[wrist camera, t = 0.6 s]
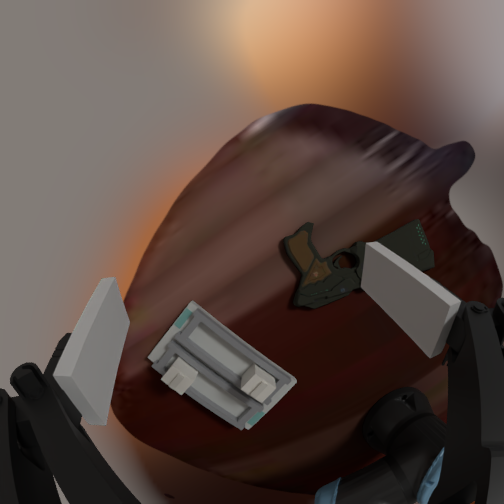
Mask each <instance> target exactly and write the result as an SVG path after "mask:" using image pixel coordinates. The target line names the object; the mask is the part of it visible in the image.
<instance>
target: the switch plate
mask: <svg viewBox="0 0 504 504" xmlns="http://www.w3.org/2000/svg"><path fill="white" fill-rule="evenodd" d="M179 356H180V357H181V358H183V359H184V360H185V361H186V362H188V363H189V364H190V365H192V366H193V367H194V368H195V369H197V370H198V371H199V372H198V374H197V376H196V378H195V380H194V382H193V383H192V384H191V385H190V387H189V388H188V389H187V390H186V391H185V393H186V394H188V395H189V396H190V397H192V398H193V399H195V400H196V401H197V402H199V403H200V404H202V405H203V406H205V407H206V408H207V409H209V410H210V411H212V412H213V413H215V414H216V415H218V416H220V417H221V418H223V419H224V420H226V421H227V422H229V423H231V424H232V425H234V426H235V427H237V428H239V429H240V430H242V429H243V428H244V427H245V428H246V429H248V430H249V429H250V428H251V427H252V426H253V425H254V424H255V423H256V422H257V421H258V420H259V419H261V418H262V417H263V416H264V415H265V414H266V413H267V412H268V411H269V410H270V409H271V408H272V407H273V406H274V405H275V404H276V403H277V402H278V401H279V400H280V399H281V398H282V397H283V396H284V395H285V394H286V393H287V392H288V391H289V390H290V389H291V388H292V387H293V386H294V385H295V383H296V382H297V380H296V378H295V377H293V376H292V375H290V374H289V373H288V372H286V371H285V370H283V369H282V368H280V367H279V366H278V365H276V364H275V363H273V362H272V361H271V360H269V359H268V358H266V357H265V356H264V355H262V354H261V353H260V352H258V351H257V350H255V349H254V348H253V347H251V346H250V345H249V344H247V343H246V342H245V341H243V340H242V339H241V338H239V337H238V336H237V335H236V334H234V333H233V332H232V331H230V330H229V329H228V328H226V327H225V326H224V325H223V324H221V323H220V322H219V321H218V320H216V319H215V318H214V317H213V316H211V315H210V314H209V313H208V312H206V311H205V310H204V309H203V308H201V307H200V306H199V305H198V304H197V303H195V302H194V301H191V302H190V303H189V305H188V306H187V307H186V308H185V310H184V311H183V312H182V314H181V315H180V316H179V317H178V319H177V320H176V321H175V323H174V324H173V325H172V326H171V328H170V329H169V330H168V332H167V333H166V334H165V335H164V337H163V338H162V339H161V341H160V342H159V343H158V344H157V346H156V347H155V348H154V350H153V351H152V352H151V354H150V355H149V356H148V358H149V359H150V360H151V361H152V362H153V365H152V367H153V368H154V369H155V370H157V371H158V372H159V373H160V374H162V375H163V376H164V374H165V373H166V372H167V370H168V369H169V368H170V367H171V365H172V364H173V363H174V362H175V361H176V359H177V358H178V357H179ZM254 362H255V363H256V364H258V365H259V366H261V367H262V368H263V369H265V370H266V371H268V372H269V373H270V374H272V375H273V376H274V378H275V383H276V389H275V390H274V391H273V392H272V393H271V394H270V395H269V396H268V397H267V398H266V399H265V400H264V401H263V402H262V403H261V402H259V401H258V400H256V399H255V398H253V397H252V396H250V395H248V394H247V393H246V392H244V391H243V390H241V380H242V375H243V374H244V373H245V372H246V371H247V370H248V369H249V368H250V367H251V365H252V364H253V363H254Z"/></svg>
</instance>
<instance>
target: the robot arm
mask: <svg viewBox="0 0 504 504" xmlns="http://www.w3.org/2000/svg"><path fill="white" fill-rule="evenodd" d="M361 288H362V289H363V290H364V291H365V292H366V293H367V294H368V295H369V296H370V297H371V298H372V299H373V300H374V301H375V302H376V303H377V304H378V305H379V306H380V307H381V308H382V309H383V310H384V311H385V312H386V313H387V314H388V315H389V316H390V317H391V318H392V319H393V320H394V321H395V322H396V323H397V324H398V325H399V326H400V327H401V328H402V329H403V330H404V331H405V332H406V333H407V334H408V335H409V336H410V337H411V339H412V340H413V341H414V342H415V343H416V344H417V345H418V346H419V347H420V348H421V349H422V350H423V351H424V352H425V354H426V355H427V356H428V357H429V358H432V357H434V356H436V355H438V354H440V353H441V352H442V350H443V348H444V345H445V343H447V344H449V345H450V347H449V349H448V351H447V354H446V356H445V358H444V360H443V362H442V365H443V366H444V364H445V362H446V361H447V360H448V364H447V366H448V413H447V424H445V423H444V422H443V421H442V420H440V419H439V418H438V417H437V416H436V415H434V413H433V410H432V408H431V406H430V403H429V401H428V399H427V397H426V396H425V395H424V394H423V393H422V392H421V391H419V390H418V389H416V388H413V387H404V388H400V389H397V390H394V391H392V392H390V393H389V394H387V395H385V396H384V397H383V398H381V399H380V400H379V401H378V402H377V403H376V404H375V405H374V406H373V407H372V409H371V410H370V411H369V413H368V415H367V416H366V418H365V421H364V424H363V436H364V438H365V440H366V441H367V443H368V444H369V445H370V446H371V447H372V448H373V449H375V450H377V451H379V452H381V453H383V454H384V455H386V456H385V457H383V458H381V459H379V460H377V461H375V462H374V463H372V464H370V465H368V466H366V467H364V468H362V469H360V470H358V471H356V472H354V473H352V474H349V475H347V476H345V477H343V478H342V477H340V478H338V479H337V480H336V481H334V482H331V483H329V484H327V485H325V486H323V487H321V488H320V489H319V490H318V491H317V493H316V495H315V504H414V503H416V502H418V503H420V504H470V503H472V502H473V501H475V504H504V347H503V345H502V344H503V342H504V298H499V299H498V300H497V302H496V305H495V307H494V308H490V309H488V307H487V306H485V305H484V304H482V303H480V302H477V301H470V302H468V303H465V302H464V301H463V300H462V299H460V298H459V297H458V296H456V295H455V294H454V293H452V292H451V291H450V290H448V289H447V288H446V287H444V286H442V284H440V283H439V282H438V281H436V280H434V279H432V278H430V277H428V276H427V275H425V274H424V273H423V272H421V271H420V270H418V269H417V268H415V267H414V266H413V265H411V264H410V263H408V262H407V261H405V260H404V259H402V258H401V257H399V256H398V255H396V254H395V253H393V252H392V251H390V250H389V249H387V248H386V247H384V246H383V245H381V244H380V243H378V242H371V243H366V247H365V257H364V265H363V273H362V281H361ZM129 324H130V321H129V319H128V316H127V313H126V310H125V307H124V304H123V301H122V298H121V295H120V292H119V288H118V285H117V282H116V278H115V277H111V278H102V279H101V281H100V282H99V284H98V286H97V288H96V290H95V291H94V293H93V295H92V297H91V298H90V300H89V302H88V304H87V305H86V307H85V309H84V311H83V313H82V315H81V317H80V319H79V321H78V322H77V324H76V326H75V328H74V330H73V332H72V333H67V334H66V335H65V336H64V337H63V338H62V339H61V340H60V341H59V343H58V345H57V347H56V350H55V351H54V353H53V355H52V358H51V359H50V361H49V363H48V365H47V367H46V369H45V372H44V374H42V372H41V371H40V369H39V368H38V366H37V365H36V364H34V363H25V364H22V365H20V366H19V367H17V368H16V369H15V370H14V372H13V373H12V375H11V378H10V384H11V385H12V386H13V388H14V389H15V390H16V392H17V393H18V394H19V396H16V397H10V396H9V395H8V393H7V392H6V391H5V390H4V389H0V504H62V503H61V501H60V497H59V494H58V491H57V488H56V485H55V481H54V477H55V479H56V481H57V483H58V485H59V487H60V488H61V490H62V492H63V493H64V495H65V497H66V499H67V500H68V502H69V503H70V504H141V503H140V502H139V501H138V499H136V498H135V496H134V495H133V494H132V493H131V492H130V491H129V489H128V488H127V487H126V486H125V485H124V484H123V482H122V481H121V480H120V479H119V477H118V476H117V475H116V474H115V473H114V471H113V470H112V469H111V467H110V466H109V465H108V463H107V462H106V461H105V459H104V458H103V457H102V455H101V454H100V452H99V451H98V449H97V448H96V447H95V445H94V443H93V442H92V440H91V439H90V437H89V436H88V434H87V433H86V431H85V429H84V428H83V427H82V426H81V424H80V422H81V417H83V418H84V419H85V420H86V421H87V423H88V424H90V425H104V426H106V423H107V418H108V412H109V407H110V402H111V397H112V392H113V387H114V383H115V378H116V374H117V369H118V365H119V361H120V357H121V353H122V349H123V345H124V342H125V338H126V334H127V331H128V327H129ZM53 475H54V477H53Z"/></svg>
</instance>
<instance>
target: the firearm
mask: <svg viewBox="0 0 504 504" xmlns="http://www.w3.org/2000/svg"><path fill="white" fill-rule="evenodd" d="M313 225H314V224H313V223H310V222H307V223H306V224H304V225H303V226H302V227H300V229H299V230H298V231H297V232H296V233H295V234H294V235H290V236H287V237H285V238H284V240H283V242H284V246H285V250H286V253H287V255H288V257H289V258H290V259H291V261H292V262H293V263H294V265H295V266H296V267H297V269H298V270H299V271H300V273H301V275H302V276H301V280H300V283H299V287H298V289H297V291H296V293H295V297H294V300H293V303H294V305H295V306H297V307H299V306H303V305H304V306H307V307H310V308H313V309H315V308H317V307H320V306H323V305H325V304H328V303H331V302H333V301H335V300H338V299H340V298H343V297H345V296H347V295H349V294H350V292H351V291H352V290H354V289H357V288H361V281H362V273H363V265H364V257H365V247H366V243H364V242H362V241H359V242H355V243H354V245H353V246H352V247H350V248H349V249H346V248H343V249H340V250H338V251H336V252H335V253H334V254H332V255H331V256H329V257H327V258H324V259H322V258H321V257H320V255H319V254H318V252H317V250H316V249H315V247H314V245H313V244H312V242H311V233H312V229H313ZM374 242H378V243H380V244H381V245H383V246H384V247H386V248H387V249H389V250H390V251H392V252H393V253H395V254H396V255H398V256H399V257H401V258H402V259H404V260H405V261H407V262H408V263H410V264H411V265H413V266H414V267H415V268H417V269H418V270H420V271H421V272H422V271H425V270H428V269H431V268H433V267H434V252H433V251H432V250H431V249H430V248H429V243H428V241H427V238H426V235H425V233H424V231H423V228H422V226H421V223H420V221H419V219H416V220H413V221H411V222H409V223H408V224H406V225H404V226H402V227H401V228H399V229H397V230H395V231H393V232H391V233H390V234H388V235H386V236H384V237H382V238H380V239H378V240H376V241H374ZM343 251H344V252H348V253H350V254H353V255H354V256H355V258H356V264H355V266H354V267H353V268H350V269H349V268H342V269H341V268H340V266H339V264H338V261H339V259H340V258H341V257H342V256H340V257H338V258H337V259H336V260H335V262H334V264H333V263H332V259H333V257H335V256H336V255H337V254H339V253H341V252H343ZM422 252H423V253H422ZM420 253H421V254H420ZM418 254H419V255H418ZM334 266H336V267H337V268H338V269H336V268H335V267H334ZM361 289H362V288H361ZM362 290H363V289H362Z"/></svg>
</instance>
